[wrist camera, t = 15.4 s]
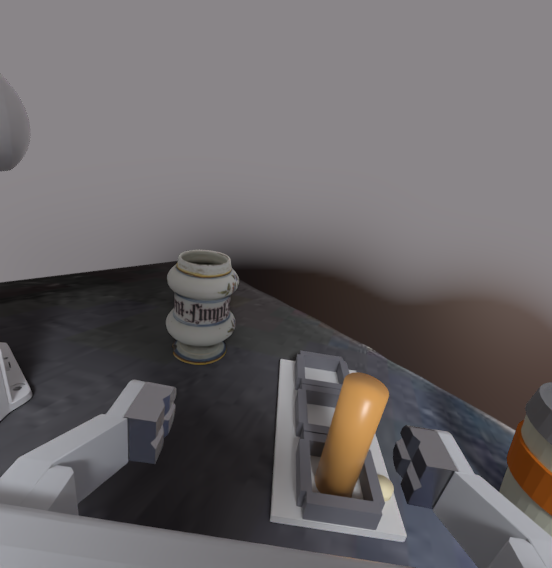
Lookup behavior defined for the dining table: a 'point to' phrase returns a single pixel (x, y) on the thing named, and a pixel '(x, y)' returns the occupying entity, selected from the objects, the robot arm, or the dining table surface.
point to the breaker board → (307, 452)
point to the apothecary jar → (201, 305)
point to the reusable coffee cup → (532, 461)
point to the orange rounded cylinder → (350, 434)
